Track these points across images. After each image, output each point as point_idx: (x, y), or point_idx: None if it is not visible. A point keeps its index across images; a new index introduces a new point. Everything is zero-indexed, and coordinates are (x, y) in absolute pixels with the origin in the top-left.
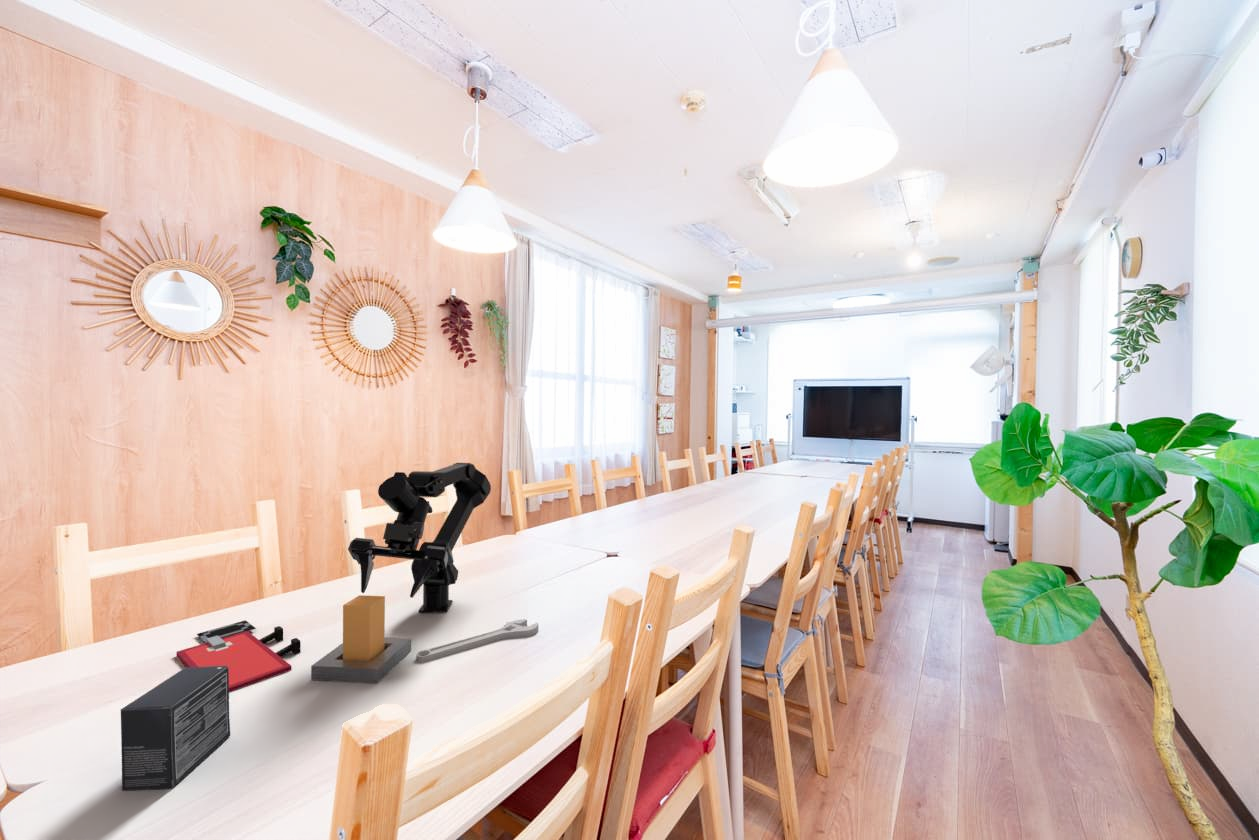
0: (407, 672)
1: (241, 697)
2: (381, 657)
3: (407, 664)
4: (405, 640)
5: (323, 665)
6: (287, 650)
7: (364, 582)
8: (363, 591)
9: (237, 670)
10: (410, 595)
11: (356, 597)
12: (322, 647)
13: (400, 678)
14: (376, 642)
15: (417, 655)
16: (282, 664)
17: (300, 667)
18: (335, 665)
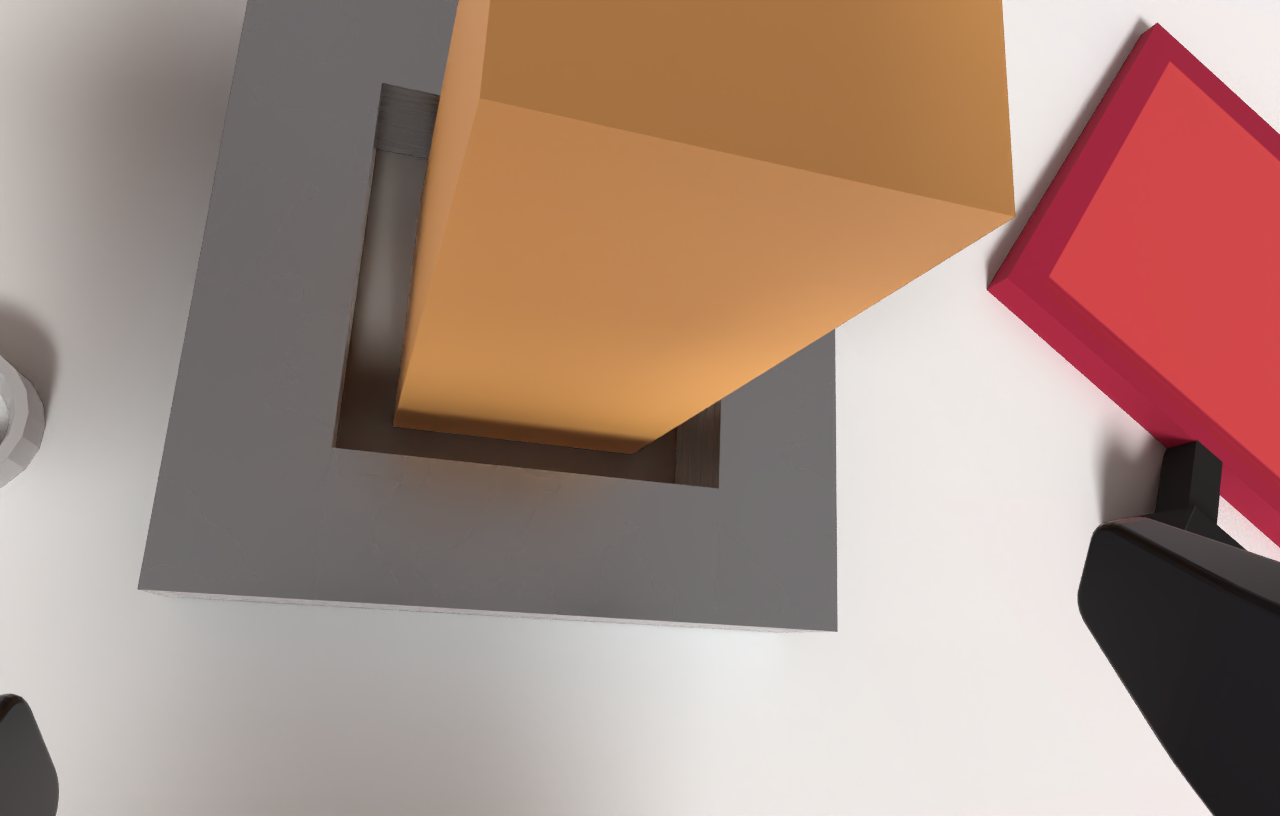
0: (55, 160)
1: (1020, 8)
2: (319, 143)
3: (109, 309)
4: (198, 524)
5: None
6: (1177, 489)
7: (1278, 590)
8: (1094, 540)
9: (1243, 248)
10: (7, 697)
11: (997, 107)
12: (1013, 641)
13: (89, 67)
14: (428, 204)
15: (3, 368)
16: (1069, 297)
17: (956, 320)
18: None
